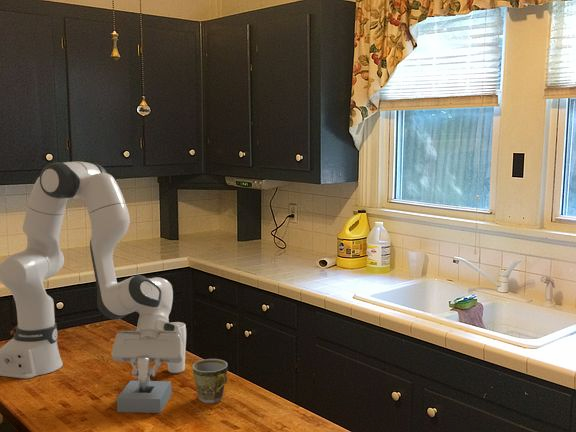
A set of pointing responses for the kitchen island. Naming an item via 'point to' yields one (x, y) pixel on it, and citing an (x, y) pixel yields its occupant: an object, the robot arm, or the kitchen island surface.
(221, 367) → the ceramic cup
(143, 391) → the steel pin
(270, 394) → the kitchen island surface
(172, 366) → the white tapered cylinder
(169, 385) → the socket block
